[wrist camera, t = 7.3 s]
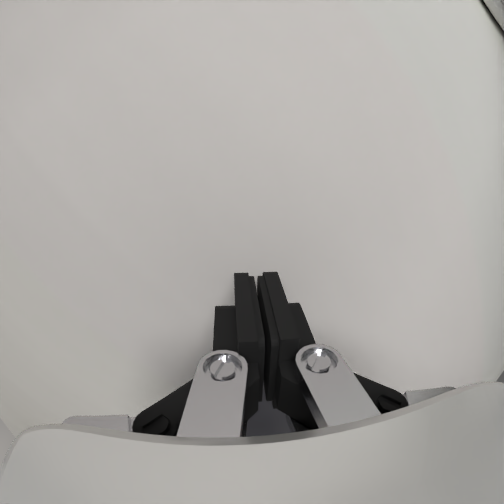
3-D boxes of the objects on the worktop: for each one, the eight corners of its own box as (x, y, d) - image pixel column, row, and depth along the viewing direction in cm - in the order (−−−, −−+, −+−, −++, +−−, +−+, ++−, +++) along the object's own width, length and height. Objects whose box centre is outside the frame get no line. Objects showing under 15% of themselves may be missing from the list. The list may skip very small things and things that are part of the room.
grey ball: (186, 475, 9) (198, 411, 15) (300, 478, 10) (285, 414, 15) (175, 395, 9) (196, 335, 14) (323, 399, 9) (297, 340, 14)
